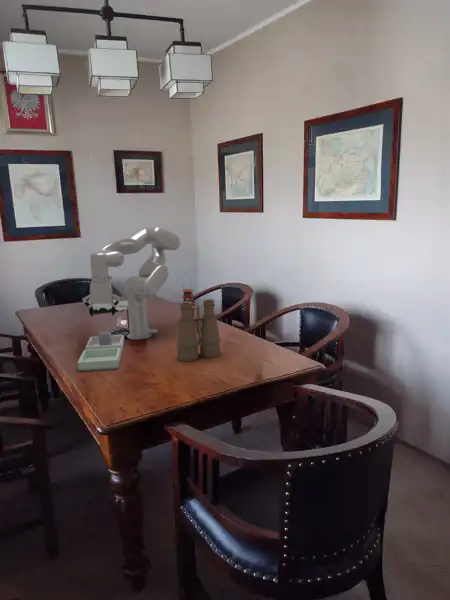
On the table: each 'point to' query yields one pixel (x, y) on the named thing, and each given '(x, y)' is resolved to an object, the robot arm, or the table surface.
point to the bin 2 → (99, 359)
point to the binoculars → (208, 330)
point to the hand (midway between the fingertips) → (102, 315)
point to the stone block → (105, 338)
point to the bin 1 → (94, 344)
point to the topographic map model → (108, 307)
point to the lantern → (189, 295)
